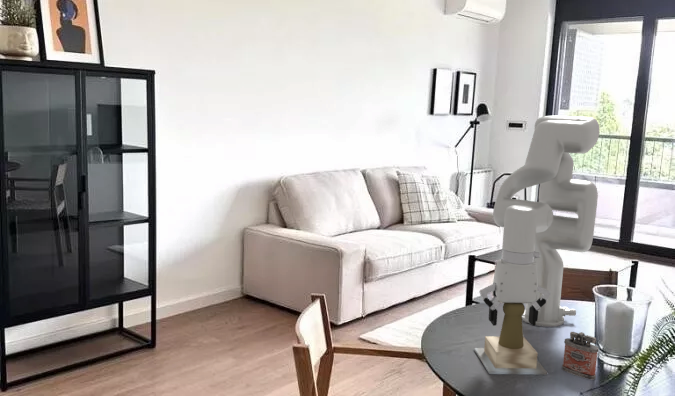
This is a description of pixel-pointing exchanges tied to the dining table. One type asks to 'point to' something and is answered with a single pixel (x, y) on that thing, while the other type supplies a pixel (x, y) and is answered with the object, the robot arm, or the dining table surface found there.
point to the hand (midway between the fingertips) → (512, 323)
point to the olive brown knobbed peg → (512, 326)
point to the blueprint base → (507, 371)
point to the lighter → (580, 355)
